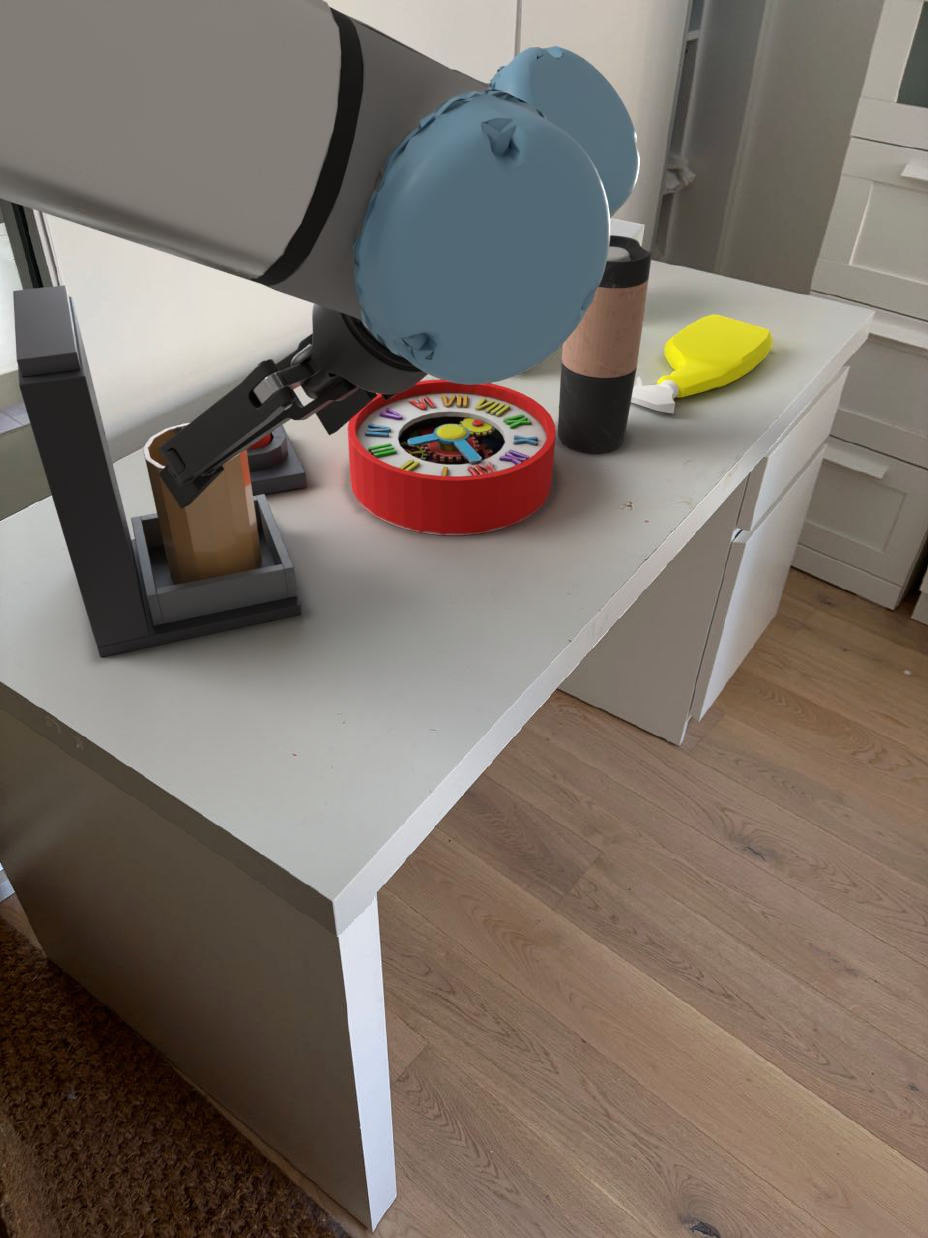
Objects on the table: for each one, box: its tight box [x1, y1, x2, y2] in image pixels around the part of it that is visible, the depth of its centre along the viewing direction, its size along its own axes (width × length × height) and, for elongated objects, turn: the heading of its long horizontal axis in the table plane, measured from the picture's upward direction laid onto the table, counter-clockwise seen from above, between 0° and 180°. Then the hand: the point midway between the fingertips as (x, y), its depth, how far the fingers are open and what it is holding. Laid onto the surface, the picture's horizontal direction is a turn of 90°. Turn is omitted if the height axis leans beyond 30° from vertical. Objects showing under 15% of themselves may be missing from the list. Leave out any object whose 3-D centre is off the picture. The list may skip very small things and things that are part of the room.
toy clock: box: [347, 379, 557, 536], centre depth 95 cm, size 20×6×20 cm
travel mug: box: [557, 235, 653, 454], centre depth 97 cm, size 8×8×20 cm
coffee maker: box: [12, 285, 303, 658], centre depth 75 cm, size 14×16×24 cm
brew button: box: [247, 434, 271, 449], centre depth 95 cm, size 4×4×2 cm
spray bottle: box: [631, 313, 774, 414], centre depth 115 cm, size 3×11×24 cm
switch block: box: [246, 424, 308, 496], centre depth 96 cm, size 10×8×4 cm
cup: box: [142, 422, 262, 585], centre depth 79 cm, size 8×8×12 cm
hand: (253, 451), depth 69 cm, fingers open, 13 cm apart
